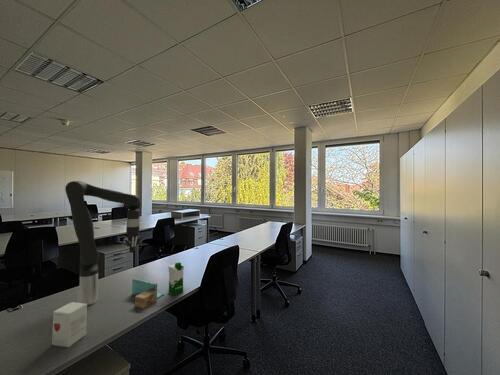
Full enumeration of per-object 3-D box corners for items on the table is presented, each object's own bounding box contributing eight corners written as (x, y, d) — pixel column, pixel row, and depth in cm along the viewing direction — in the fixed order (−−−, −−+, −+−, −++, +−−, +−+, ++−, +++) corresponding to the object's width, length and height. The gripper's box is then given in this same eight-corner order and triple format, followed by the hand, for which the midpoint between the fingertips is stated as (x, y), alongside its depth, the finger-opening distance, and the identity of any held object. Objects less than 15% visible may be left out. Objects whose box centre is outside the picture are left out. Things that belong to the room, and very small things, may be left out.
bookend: (154, 300, 137) (155, 284, 137) (132, 294, 145) (132, 279, 145) (163, 294, 144) (164, 279, 144) (141, 289, 152) (142, 275, 152)
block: (143, 308, 127) (143, 298, 127) (134, 306, 130) (135, 296, 130) (156, 301, 136) (156, 291, 137) (148, 298, 139) (148, 289, 139)
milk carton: (173, 296, 142) (174, 265, 142) (166, 292, 148) (166, 262, 148) (185, 291, 149) (185, 262, 149) (177, 288, 155) (178, 259, 155)
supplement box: (51, 345, 96) (52, 311, 97) (70, 332, 105) (71, 301, 106) (68, 347, 95) (69, 313, 95) (86, 334, 104) (87, 303, 104)
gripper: (127, 227, 133) (126, 255, 133) (145, 224, 145) (145, 250, 145) (119, 226, 136) (118, 254, 136) (137, 223, 148) (137, 249, 148)
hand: (132, 252), depth 140 cm, fingers closed
